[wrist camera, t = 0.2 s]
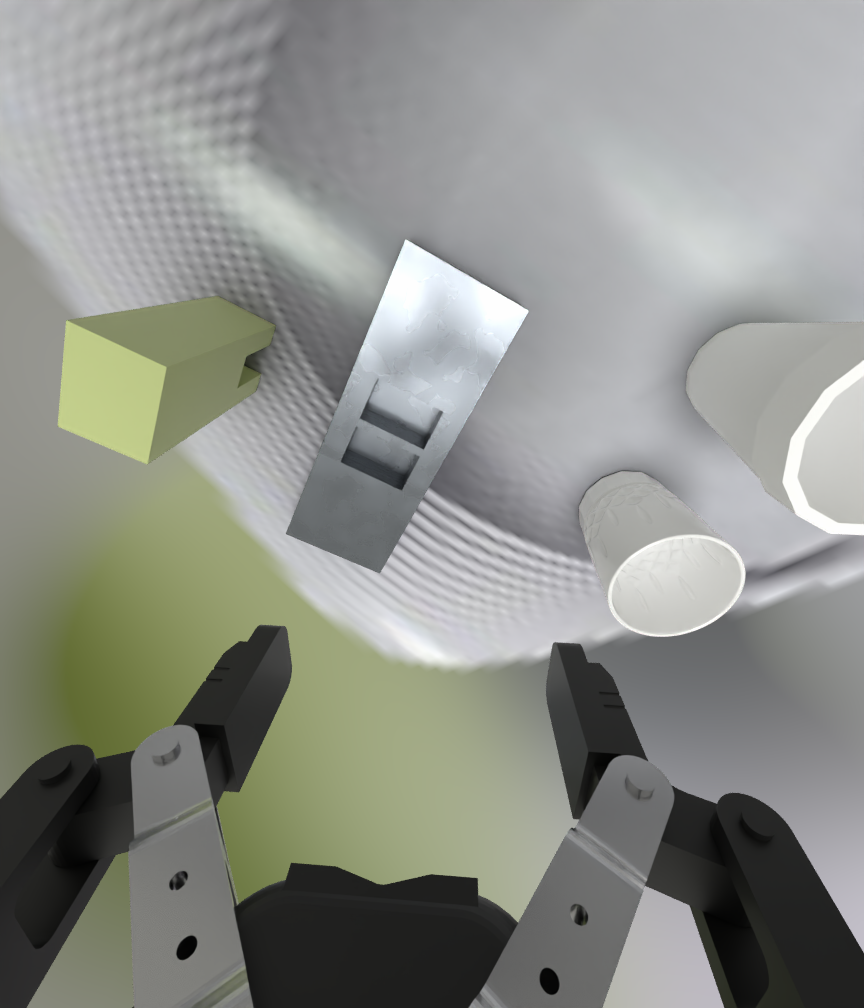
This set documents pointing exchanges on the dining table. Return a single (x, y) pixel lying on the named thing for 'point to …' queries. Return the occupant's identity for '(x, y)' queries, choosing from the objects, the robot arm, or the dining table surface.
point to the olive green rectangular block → (157, 372)
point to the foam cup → (791, 412)
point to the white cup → (657, 557)
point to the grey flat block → (403, 406)
